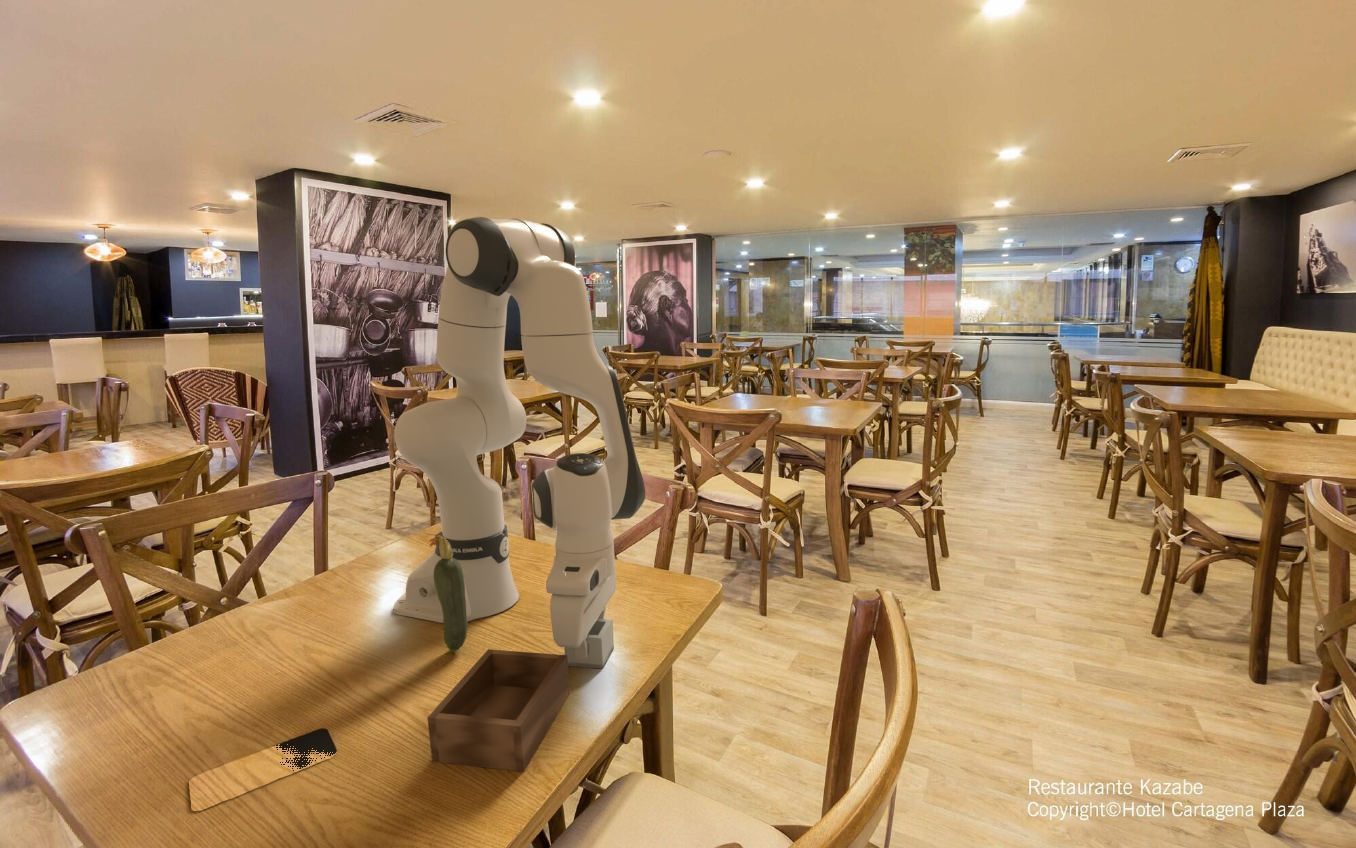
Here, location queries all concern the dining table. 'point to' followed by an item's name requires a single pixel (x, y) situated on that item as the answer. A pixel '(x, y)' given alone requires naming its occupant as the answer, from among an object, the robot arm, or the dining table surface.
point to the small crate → (595, 646)
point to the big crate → (500, 710)
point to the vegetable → (451, 595)
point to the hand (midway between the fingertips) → (590, 644)
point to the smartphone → (309, 746)
